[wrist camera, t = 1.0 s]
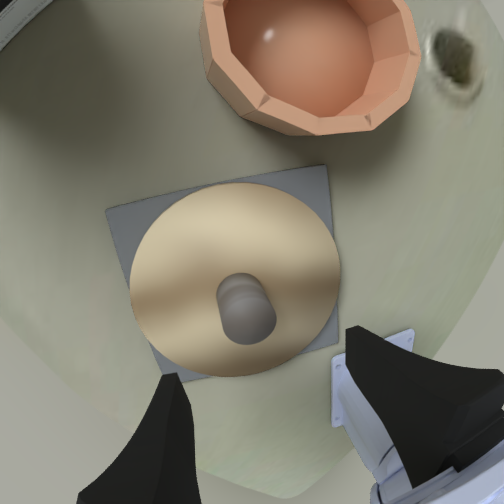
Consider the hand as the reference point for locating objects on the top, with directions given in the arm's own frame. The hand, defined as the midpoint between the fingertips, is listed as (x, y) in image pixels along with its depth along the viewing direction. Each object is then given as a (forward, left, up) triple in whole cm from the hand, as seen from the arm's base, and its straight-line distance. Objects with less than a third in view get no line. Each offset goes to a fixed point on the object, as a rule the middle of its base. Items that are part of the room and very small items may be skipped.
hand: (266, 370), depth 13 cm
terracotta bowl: (+14, -6, -8) cm, 17 cm away
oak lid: (0, 0, -8) cm, 8 cm away
